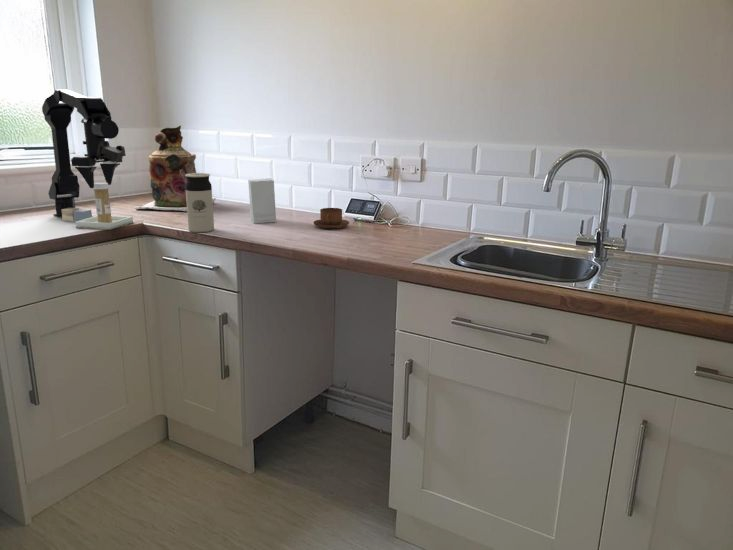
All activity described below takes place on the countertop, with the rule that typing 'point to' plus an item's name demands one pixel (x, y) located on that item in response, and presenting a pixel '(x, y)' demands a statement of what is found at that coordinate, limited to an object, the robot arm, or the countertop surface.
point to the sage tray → (94, 223)
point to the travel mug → (199, 202)
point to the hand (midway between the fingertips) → (100, 186)
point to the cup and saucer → (331, 219)
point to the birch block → (68, 214)
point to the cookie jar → (170, 172)
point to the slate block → (82, 214)
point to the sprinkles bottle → (102, 202)
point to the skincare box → (262, 200)
